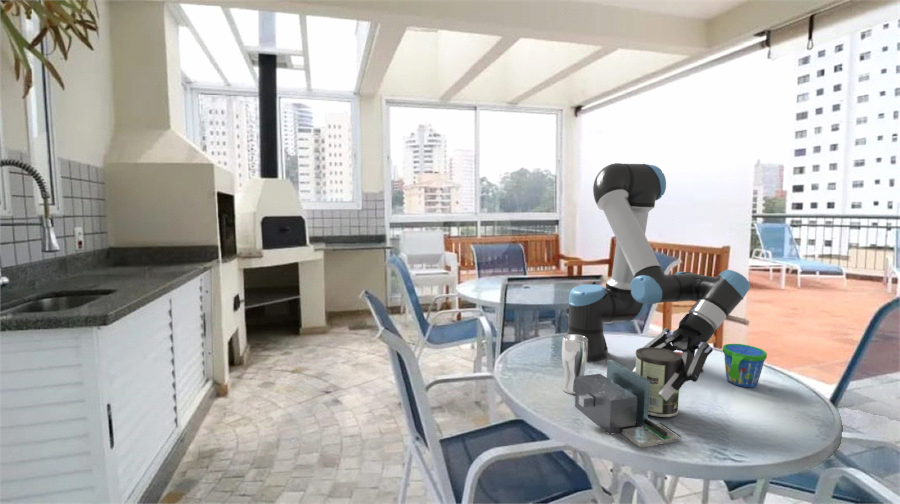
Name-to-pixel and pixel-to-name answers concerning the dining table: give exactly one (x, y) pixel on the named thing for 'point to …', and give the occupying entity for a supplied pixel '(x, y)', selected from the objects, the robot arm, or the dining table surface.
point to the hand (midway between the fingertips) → (646, 388)
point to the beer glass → (573, 360)
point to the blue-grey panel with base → (633, 385)
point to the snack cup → (743, 364)
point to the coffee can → (659, 378)
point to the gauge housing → (617, 411)
